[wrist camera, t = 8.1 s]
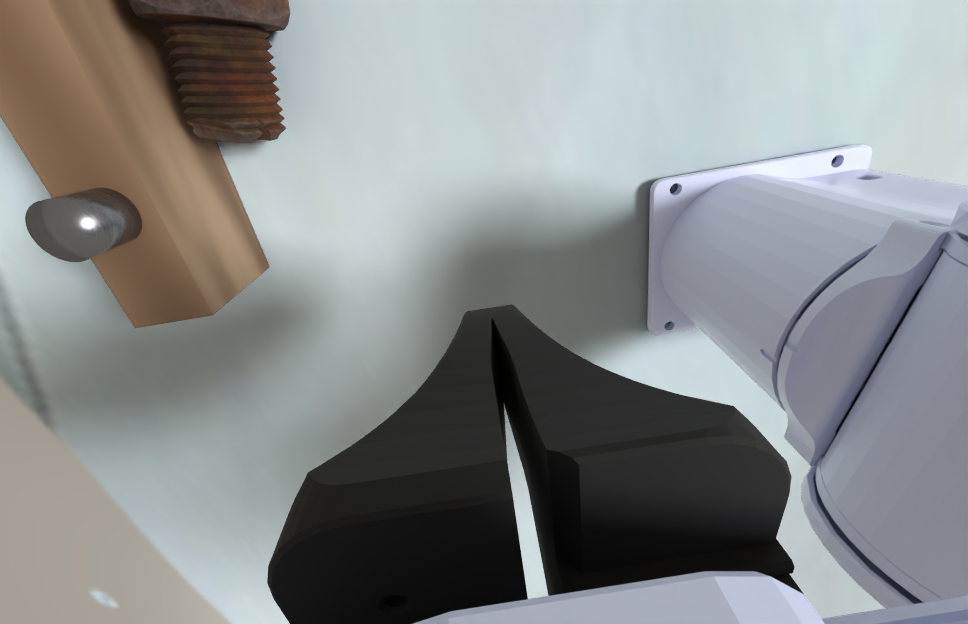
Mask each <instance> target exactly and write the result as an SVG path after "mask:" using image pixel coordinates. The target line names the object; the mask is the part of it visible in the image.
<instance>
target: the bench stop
mask: <svg viewBox="0 0 968 624" xmlns="http://www.w3.org/2000/svg"><path fill="white" fill-rule="evenodd" d="M165 26H166V24H164V23H163V22H162V21H157V20H152V19H147V18H143V17H140V16H137V15H136V14H135V13H134V11H133V9H132V7H131V5H130V2H129V0H0V116H1V118H2V119H3V121H4V122H5V124H6V126H7V127H8V129H9V130H10V132H11V133H12V135H13V137H14V138H15V140H16V141H17V143H18V144H19V146H20V148H21V149H22V151H23V152H24V154H25V156H26V157H27V159H28V160H29V162H30V163H31V165H32V167H33V168H34V170H35V171H36V173H37V174H38V176H39V178H40V179H41V181H42V182H43V184H44V185H45V187H46V189H47V190H48V192H49V193H50V195H51V197H52V198H51V199H47V200H42V201H38V202H36V203H34V204H32V205H31V206H30V207H29V208H28V210H27V212H26V217H25V220H26V226H27V229H28V231H29V233H30V235H31V237H32V238H33V239H34V241H35V242H36V243H37V244H38V245H39V246H40V247H41V248H42V249H43V250H45V251H46V252H47V253H49V254H51V255H52V256H54V257H56V258H59V259H62V260H65V261H70V262H81V261H85V260H87V259H89V258H91V260H92V261H93V263H94V264H95V266H96V267H97V269H98V271H99V272H100V274H101V275H102V277H103V279H104V280H105V282H106V283H107V285H108V286H109V288H110V290H111V291H112V293H113V294H114V296H115V297H116V299H117V301H118V302H119V304H120V305H121V307H122V308H123V310H124V312H125V313H126V315H127V316H128V318H129V320H130V321H131V323H132V324H133V326H134V327H135V328H140V327H146V326H152V325H158V324H164V323H169V322H175V321H181V320H187V319H193V318H199V317H205V316H211V315H213V314H215V313H216V312H217V311H218V310H219V309H221V308H222V307H223V306H224V305H225V304H226V303H228V302H229V301H230V300H231V299H232V298H233V297H235V296H236V295H237V294H238V293H239V292H241V291H242V290H243V289H244V288H245V287H246V286H248V285H249V284H250V283H251V282H252V281H254V280H255V279H256V278H257V277H258V276H259V275H261V274H262V273H263V272H264V271H265V270H267V269H268V268H269V264H268V262H267V260H266V257H265V255H264V253H263V250H262V248H261V246H260V243H259V241H258V239H257V236H256V234H255V232H254V229H253V227H252V225H251V222H250V220H249V218H248V215H247V213H246V211H245V208H244V206H243V204H242V201H241V199H240V197H239V194H238V192H237V190H236V187H235V185H234V183H233V180H232V178H231V176H230V173H229V171H228V169H227V166H226V164H225V162H224V159H223V157H222V155H221V152H220V150H219V148H218V145H217V143H216V141H215V140H212V139H204V138H200V137H199V136H198V135H196V134H195V133H194V132H193V129H194V127H193V126H191V125H190V124H188V123H187V121H188V120H189V119H190V118H191V117H190V116H189V115H187V114H185V113H183V112H184V111H185V110H186V109H187V107H188V106H187V105H185V104H184V103H182V102H181V100H182V99H183V98H184V97H185V95H184V94H182V93H181V92H179V91H177V90H178V89H179V88H180V87H181V86H182V84H181V83H180V82H178V81H176V80H175V78H176V76H177V75H178V74H179V72H177V71H176V70H174V69H172V68H171V67H172V66H173V65H174V63H175V62H176V61H175V60H174V59H172V58H171V57H169V56H168V55H169V54H170V53H171V52H172V50H173V49H172V48H170V47H169V46H167V45H166V44H164V43H165V42H166V41H167V40H168V39H169V38H170V37H169V36H167V35H166V34H164V33H163V32H162V31H161V30H162V29H163V28H164V27H165Z"/></svg>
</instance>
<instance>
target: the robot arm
mask: <svg viewBox="0 0 968 624" xmlns="http://www.w3.org/2000/svg"><path fill="white" fill-rule="evenodd" d="M835 156H837V159H836V162H835V163H834V164H833V165H831V162H832V160H833V158H834V157H835ZM871 157H872V149H871V147H870V146H868V145H862V144H856V145H850V146H844V147H839V148H833V149H827V150H821V151H816V152H810V153H804V154H798V155H793V156H787V157H781V158H776V159H770V160H764V161H758V162H753V163H747V164H741V165H735V166H730V167H724V168H718V169H713V170H707V171H701V172H695V173H690V174H684V175H678V176H672V177H667V178H661V179H659V180H657V181H655V182H654V183H653V185H652V186H651V189H650V218H649V269H648V320H647V326H648V329H649V331H650V332H651V333H652V334H653V335H664V334H671V333H677V332H683V331H689V330H696V329H701V330H702V331H703V332H704V333H705V334H706V335H707V336H708V337H709V338H710V339H711V340H712V341H713V342H714V343H715V344H716V345H717V346H718V347H719V348H720V349H721V350H722V351H723V352H725V353H726V354H727V355H728V356H729V357H730V358H731V359H732V360H733V361H734V362H735V363H736V364H737V365H738V366H739V367H740V368H741V369H742V370H743V371H744V372H745V373H746V374H747V375H748V376H749V377H750V378H751V379H752V380H753V381H754V382H755V383H756V384H758V385H759V386H760V387H761V388H762V389H763V390H764V391H765V392H766V393H767V394H768V395H769V396H770V397H771V398H772V399H773V400H774V401H775V402H776V403H777V404H778V405H779V406H780V407H781V408H782V409H783V410H784V411H785V412H786V413H787V416H788V427H787V430H786V433H785V435H784V438H785V439H786V440H787V441H788V442H789V443H790V444H791V445H792V446H793V448H794V449H795V450H796V451H797V452H798V453H799V454H800V455H801V456H802V457H803V458H804V459H805V460H806V461H807V462H808V463H809V464H810V465H811V467H810V469H809V470H808V472H807V473H806V475H805V476H804V479H803V482H802V486H801V500H802V503H803V507H804V511H805V514H806V516H807V518H808V520H809V522H810V525H811V527H812V528H813V530H814V531H815V533H816V535H817V536H818V538H819V539H820V541H821V542H822V544H823V545H824V546H825V548H826V549H827V550H828V551H829V553H830V554H831V555H832V556H833V558H834V559H835V560H836V561H837V563H838V564H839V565H840V566H841V567H842V568H843V569H844V570H845V571H846V572H847V573H848V574H849V575H850V576H851V577H852V578H853V579H854V580H855V581H856V583H857V584H858V585H859V586H861V587H862V588H863V589H864V590H865V591H866V592H867V593H869V594H870V595H871V596H872V597H873V598H874V599H875V600H876V601H878V602H879V603H880V604H881V605H882V606H883V607H885V608H886V609H880V610H874V611H867V612H861V613H855V614H849V615H842V616H836V617H830V618H823V619H821V617H820V616H819V615H818V613H817V612H816V610H815V609H814V608H813V606H812V605H811V604H810V602H809V601H808V599H807V598H806V597H805V595H804V594H803V592H802V591H801V590H800V588H799V587H798V585H797V584H796V583H795V581H794V580H793V579H792V577H791V576H790V573H793V570H794V565H793V562H792V559H791V558H790V557H789V555H788V554H787V553H786V551H785V550H784V549H783V547H782V546H781V545H780V543H779V542H778V541H777V539H776V536H777V533H778V529H779V526H780V523H781V520H782V516H783V513H784V510H785V507H786V504H787V500H788V497H789V492H790V484H791V474H790V471H789V468H788V465H787V461H786V460H785V459H784V458H783V457H782V456H781V455H780V454H779V453H778V452H777V451H776V450H775V448H774V447H773V446H772V445H771V444H770V443H769V442H768V441H767V439H766V438H765V437H764V436H763V435H762V434H761V433H760V432H759V430H758V429H757V428H756V427H755V426H754V425H753V424H752V423H751V422H750V421H749V420H748V419H747V418H746V417H745V416H744V415H743V414H741V413H740V412H739V411H738V410H737V409H736V408H735V407H734V406H730V405H726V404H721V403H716V402H712V401H707V400H702V399H697V398H693V397H688V396H683V395H679V394H675V393H672V392H668V391H665V390H662V389H658V388H655V387H651V386H648V385H645V384H642V383H639V382H636V381H633V380H630V379H628V378H625V377H623V376H620V375H618V374H615V373H613V372H610V371H608V370H606V369H604V368H601V367H599V366H597V365H595V364H593V363H591V362H589V361H587V360H585V359H583V358H582V357H580V356H578V355H576V354H574V353H573V352H571V351H569V350H568V349H566V348H565V347H563V346H562V345H560V344H558V343H557V342H556V341H554V340H553V339H551V338H550V337H549V336H548V335H546V334H545V333H544V332H543V331H541V330H540V329H539V328H538V327H536V326H535V325H534V324H533V323H532V322H531V321H530V320H529V319H527V318H526V317H525V316H524V315H523V314H522V313H521V312H520V311H519V310H518V309H517V308H516V307H515V306H513V305H507V306H500V307H494V308H487V309H480V310H474V311H467V312H466V313H465V315H464V316H463V319H462V321H461V324H460V326H459V329H458V331H457V333H456V335H455V337H454V339H453V340H452V342H451V344H450V346H449V348H448V349H447V351H446V353H445V354H444V356H443V357H442V359H441V360H440V362H439V363H438V365H437V366H436V368H435V369H434V371H433V372H432V373H431V375H430V376H429V377H428V379H427V380H426V381H425V382H424V384H423V385H422V386H421V387H420V388H419V389H418V390H417V392H416V393H415V394H414V395H413V396H412V397H411V398H410V399H408V400H407V401H406V402H405V403H404V404H403V405H402V406H401V407H400V408H399V409H398V410H397V411H396V412H395V413H394V414H393V415H391V416H390V417H389V418H388V419H387V420H385V421H384V422H383V423H382V424H380V425H379V426H378V427H377V428H375V429H374V430H373V431H371V432H370V433H369V434H367V435H366V436H365V437H363V438H362V439H361V440H359V441H358V442H356V443H355V444H353V445H352V446H350V447H349V448H347V449H346V450H344V451H342V452H341V453H339V454H338V455H336V456H334V457H333V458H331V459H330V460H328V461H326V462H325V463H323V464H322V465H320V466H318V467H317V468H315V469H313V470H312V471H310V472H308V474H307V476H306V478H305V480H304V482H303V484H302V486H301V488H300V490H299V492H298V494H297V496H296V498H295V500H294V502H293V505H292V507H291V509H290V512H289V514H288V517H287V519H286V522H285V525H284V527H283V530H282V532H281V535H280V538H279V540H278V543H277V545H276V548H275V551H274V553H273V556H272V558H271V561H270V564H269V566H268V582H267V583H268V586H269V588H270V591H271V593H272V596H273V598H274V600H275V601H276V603H277V604H278V606H279V608H280V609H281V611H282V612H283V614H284V615H285V617H286V618H287V620H288V621H289V623H290V624H968V186H964V185H958V184H952V183H946V182H940V181H935V180H929V179H923V178H917V177H911V176H905V175H899V174H893V173H887V172H881V171H875V170H869V165H870V161H871ZM675 183H677V185H678V188H677V190H676V191H675V192H674V193H672V194H671V193H670V188H671V186H672V185H673V184H675ZM667 322H671V324H670V325H669V326H667V327H664V326H665V324H666V323H667ZM504 405H505V408H506V412H507V415H508V419H509V422H510V425H511V429H512V432H513V436H514V439H515V442H516V446H517V449H518V452H519V456H520V459H521V462H522V466H523V469H524V473H525V477H526V481H527V485H528V490H529V495H530V500H531V505H532V510H533V516H534V521H535V526H536V531H537V537H538V542H539V547H540V553H541V558H542V563H543V568H544V574H545V579H546V585H547V590H548V595H549V596H546V597H539V598H533V599H528V598H527V591H526V584H525V577H524V571H523V564H522V557H521V550H520V543H519V536H518V530H517V523H516V516H515V509H514V502H513V496H512V489H511V483H510V477H509V471H508V465H507V451H506V434H505V417H504Z"/></svg>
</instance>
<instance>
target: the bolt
mask: <svg viewBox="0 0 968 624" xmlns="http://www.w3.org/2000/svg"><path fill="white" fill-rule="evenodd" d="M129 2H130V5H131V7H132V9H133V11H134V13H135V14H136V15H137V16H140V17H143V18H147V19H152V20H157V21H162V22H163V23H164V24H166V26H165V27H164V28H163V29H162V30H161V31H162V32H163V33H164V34H166V35H167V36H169V37H170V38H169V39H168V40H167V41H166V42H165V43H164V44H166V45H167V46H169V47H170V48H172V49H173V50H172V52H171V53H170V54H169V55H168V56H169V57H171V58H172V59H174V60H175V61H176V62H175V63H174V65H173V66H172V67H171V68H172V69H174V70H176V71H177V72H179V74H178V75H177V76H176V78H175V80H176V81H178V82H180V83H181V84H182V86H181V87H180V88H179V89H178V90H177V91H179V92H181V93H182V94H184V95H185V97H184V98H183V99H182V100H181V102H182V103H184V104H185V105H187V106H188V107H187V109H186V110H185V111H184V112H183V113H185V114H187V115H189V116H190V117H191V118H190V119H189V120H188V121H187V123H188V124H190V125H191V126H193V127H194V129H193V132H194V133H195V134H196V135H198V136H199V137H200V138H204V139H212V140H220V141H229V142H238V143H241V142H251V141H253V140H255V139H259V140H269V141H271V140H275V139H277V138H278V137H279V135H280V134H281V133H282V132H283V131H284V130H285V129H286V127H285V126H284V125H282V124H281V123H280V122H281V121H282V120H284V117H283V116H281V115H280V114H279V112H281V111H282V110H283V109H282V108H281V107H280V106H279V105H278V104H277V102H278V101H279V100H281V99H280V98H279V97H278V96H277V95H276V94H274V93H275V92H277V91H278V90H279V89H278V88H277V87H276V86H275V85H274V84H273V82H274V81H275V80H277V78H276V77H275V76H274V75H273V74H272V73H271V72H272V71H273V70H274V69H275V67H274V66H273V65H272V64H271V63H270V62H269V61H270V60H271V59H272V58H274V57H273V56H272V55H271V54H270V53H269V52H268V51H267V50H268V49H269V48H271V47H272V45H270V44H269V43H268V42H267V41H266V40H265V39H266V38H267V37H268V36H269V35H270V34H269V33H268V32H267V31H281V30H284V29H285V28H286V26H287V25H288V22H289V16H290V9H289V2H288V0H129Z"/></svg>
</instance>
